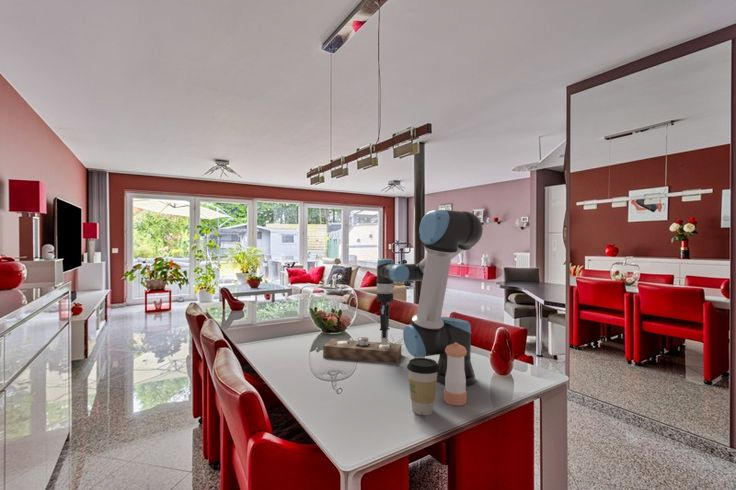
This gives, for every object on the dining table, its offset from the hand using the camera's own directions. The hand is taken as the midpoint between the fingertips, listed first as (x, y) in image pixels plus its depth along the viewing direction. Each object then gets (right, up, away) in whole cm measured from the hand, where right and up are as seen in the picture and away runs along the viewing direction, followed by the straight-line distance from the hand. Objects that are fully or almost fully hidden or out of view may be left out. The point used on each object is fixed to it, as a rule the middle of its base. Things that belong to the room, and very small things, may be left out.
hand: (384, 344), depth 163 cm
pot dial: (-10, -3, +2) cm, 11 cm away
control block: (-10, -6, +2) cm, 12 cm away
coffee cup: (+9, -6, -52) cm, 53 cm away
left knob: (-20, -5, +5) cm, 21 cm away
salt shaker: (+21, -6, -45) cm, 50 cm away
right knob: (0, -6, 0) cm, 6 cm away
